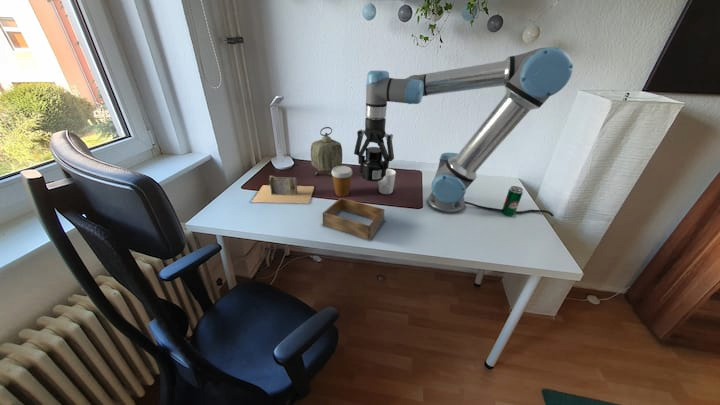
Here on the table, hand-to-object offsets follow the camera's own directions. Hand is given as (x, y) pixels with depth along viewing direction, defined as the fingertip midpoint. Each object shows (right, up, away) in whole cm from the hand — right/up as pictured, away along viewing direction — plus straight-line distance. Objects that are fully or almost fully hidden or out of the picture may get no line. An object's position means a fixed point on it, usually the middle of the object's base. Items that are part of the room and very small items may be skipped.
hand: (372, 173), depth 111 cm
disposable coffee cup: (-13, -8, +15) cm, 22 cm away
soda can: (+57, -17, +4) cm, 60 cm away
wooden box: (-8, -20, -5) cm, 22 cm away
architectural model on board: (-40, -8, +14) cm, 43 cm away
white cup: (+7, -7, +19) cm, 21 cm away
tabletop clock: (-22, +3, +34) cm, 40 cm away
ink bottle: (0, -2, +1) cm, 2 cm away
